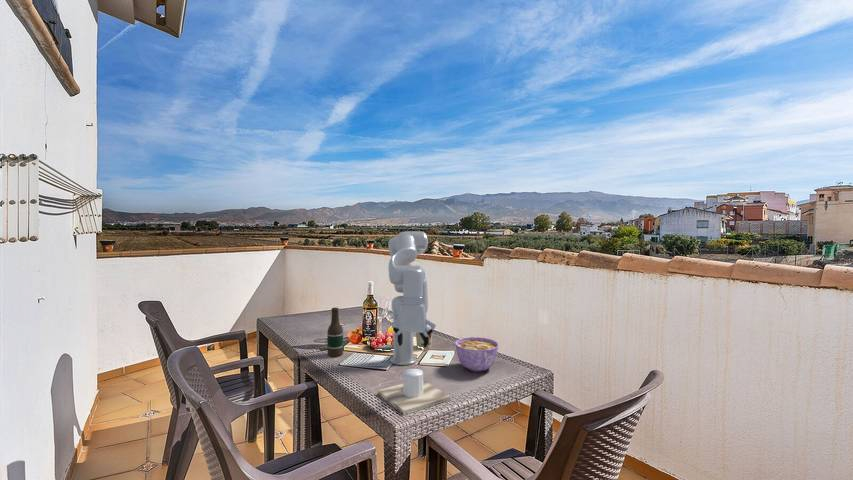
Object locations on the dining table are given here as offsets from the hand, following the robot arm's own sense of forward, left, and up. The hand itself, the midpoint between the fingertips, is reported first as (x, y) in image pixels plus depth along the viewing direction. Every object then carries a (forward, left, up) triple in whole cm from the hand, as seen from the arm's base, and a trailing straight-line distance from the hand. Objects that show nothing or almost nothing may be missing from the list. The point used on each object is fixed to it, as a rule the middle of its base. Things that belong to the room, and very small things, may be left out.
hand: (413, 345), depth 145 cm
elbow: (-1, +1, -18) cm, 18 cm away
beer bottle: (-63, -7, -20) cm, 66 cm away
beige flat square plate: (0, 0, -20) cm, 20 cm away
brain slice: (-60, +19, -20) cm, 66 cm away
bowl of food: (-9, +40, -20) cm, 45 cm away
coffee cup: (-48, +37, -20) cm, 64 cm away
